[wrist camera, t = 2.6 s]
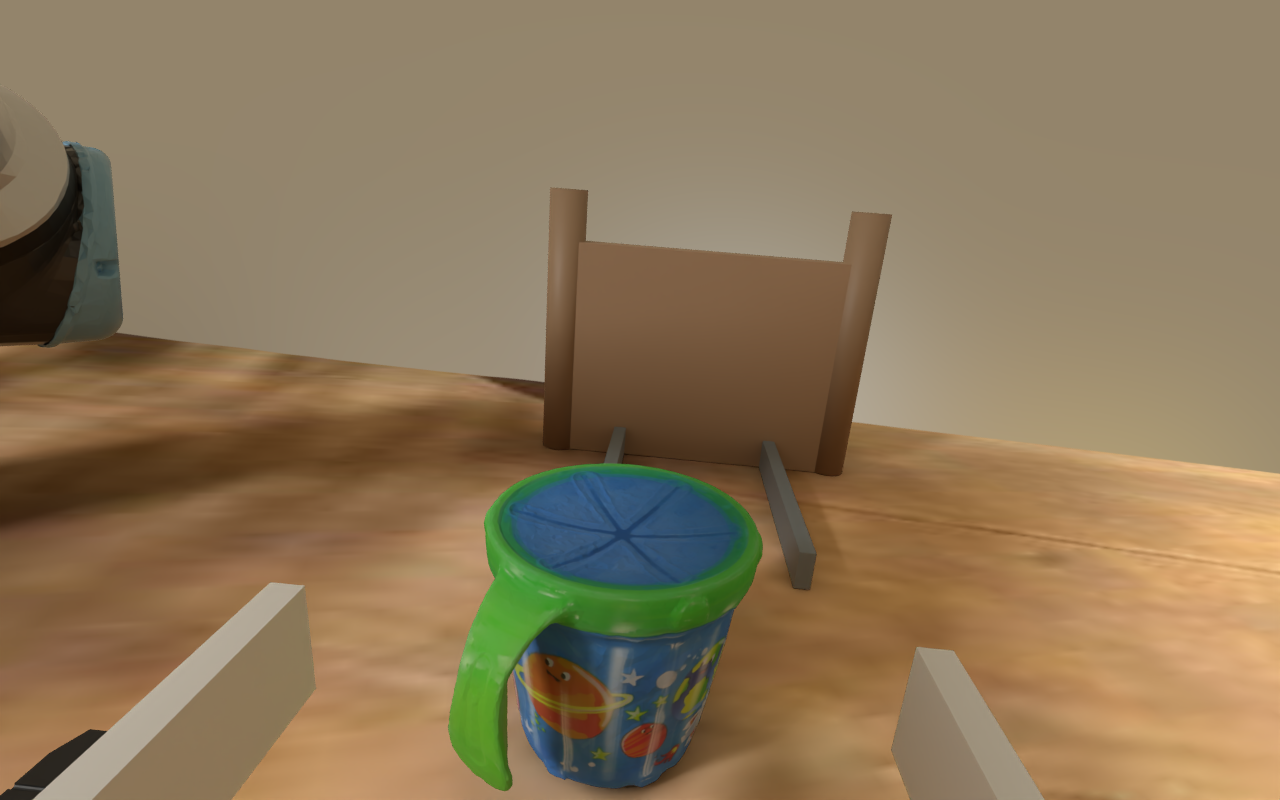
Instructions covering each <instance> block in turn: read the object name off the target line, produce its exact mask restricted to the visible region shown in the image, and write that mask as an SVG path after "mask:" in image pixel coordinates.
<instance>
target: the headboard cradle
mask: <svg viewBox="0 0 1280 800" xmlns="http://www.w3.org/2000/svg"><path fill="white" fill-rule="evenodd" d="M587 201H588V190H576V189H562V188H550V216H549V217H550V218H549V219H550V220H549V251H548V252H549V253H548V286H547V321H546V357H545V390H544V425H543V445H544V446H546V447H548V448H550V449H556V450H565V449H579V450H590V451H600V452H607V454H606V457H605V461H604V463H614V464H622V461H623V456H624V454H631V455H642V456H652V457H663V458H673V459H683V460H694V461H704V462H715V463H725V464H735V465H746V466H756V467H759V469H760V473H761V476H762V480H763V483H764V487H765V490H766V494H767V497H768V501H769V504H770V508H771V511H772V515H773V518H774V522H775V525H776V529H777V532H778V536H779V539H780V543H781V546H782V550H783V553H784V557H785V560H786V564H787V567H788V571H789V574H790V578H791V581H792V585H793V588H799V589H808V590H810V586H811V581H812V576H813V570H814V565H815V560H816V555H817V554H816V551H815V548H814V546H813V543H812V540H811V538H810V535H809V532H808V530H807V527H806V525H805V522H804V519H803V517H802V514H801V511H800V509H799V506H798V503H797V501H796V498H795V495H794V493H793V490H792V487H791V485H790V482H789V479H788V477H787V474H786V472H785V469H788V470H798V471H808V472H815V473H818V474H821V475H827V476H837V475H840V474H841V473H842V469H843V464H844V459H845V454H846V449H847V444H848V438H849V433H850V428H851V423H852V418H853V413H854V408H855V402H856V397H857V392H858V387H859V382H860V377H861V372H862V367H863V361H864V356H865V351H866V346H867V341H868V336H869V330H870V326H871V320H872V315H873V310H874V304H875V300H876V294H877V289H878V284H879V279H880V274H881V269H882V264H883V259H884V254H885V249H886V243H887V238H888V232H889V228H890V223H891V218H892V215H890V214H877V213H863V212H852V214H851V220H850V226H849V231H848V237H847V243H846V249H845V254H844V260H843V262H833V261H821V260H810V259H798V258H786V257H773V256H760V255H750V254H737V253H726V252H713V251H701V250H689V249H677V248H664V247H653V246H640V245H629V244H617V243H605V242H593V241H592V242H591V241H586V222H587Z"/></svg>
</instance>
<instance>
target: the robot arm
mask: <svg viewBox="0 0 1280 800" xmlns="http://www.w3.org/2000/svg"><path fill="white" fill-rule="evenodd" d="M113 197H114V196H113V184H112V172H111V163H110V160H109V158H108V157H107V156H106V155H105V154H104V153H103V152H102V151H100V150H98V149H96V148H91V147H85V146H82V145H80V144H79V143H77V142H76V143H74V142H68V141H65V142H62V141H61V139H60V137H59V135H58V133H57V132H56V130H55V129H54V128H53V126H52V125H51V124H50V122H49V121H48V120H47V118H46V117H45V116H44V115H43V114H41V113H40V112H39V111H38V110H37V109H36V108H35V107H34V106H33V105H31V104H30V103H29V102H28V101H26V100H25V99H24V98H22V97H21V96H19V95H18V94H16V93H15V92H13V91H12V90H10V89H8V88H7V87H5V86H3V85H1V84H0V346H15V345H38V346H40V347H55V346H57V345H59V344H60V343H71V342H82V341H94V340H101V339H105V338H107V337H110V336H111V335H113V334H114V333H116V332H117V330H118V329H119V328H120V326H121V324H122V321H123V311H122V299H121V285H120V272H119V260H118V247H117V234H116V222H115V210H114V198H113ZM315 689H316V684H315V675H314V666H313V657H312V648H311V638H310V629H309V620H308V611H307V602H306V593H305V586H302V585H292V584H282V583H272V582H270V583H269V584H268V585H267V586H266V587H265V588H264V589H263V590H262V591H260V592H259V593H258V594H257V595H256V596H255V597H254V598H253V599H252V600H251V601H250V602H248V603H247V604H246V605H245V606H244V607H243V608H242V609H241V610H240V611H239V612H237V613H236V614H235V615H234V616H233V617H232V618H231V619H230V620H229V621H228V622H227V623H225V624H224V625H223V626H222V627H221V628H220V629H219V630H218V631H217V632H216V633H214V634H213V635H212V636H211V637H210V638H209V639H208V640H207V641H206V642H205V643H204V644H202V645H201V646H200V647H199V648H198V649H197V650H196V651H195V652H194V653H193V654H191V655H190V656H189V657H188V658H187V659H186V660H185V661H184V662H183V663H182V664H181V665H179V666H178V667H177V668H176V669H175V670H174V671H173V672H172V673H171V674H170V675H169V676H167V677H166V678H165V679H164V680H163V681H162V682H161V683H160V684H159V685H158V686H156V687H155V688H154V689H153V690H152V691H151V692H150V693H149V694H148V695H147V696H146V697H144V698H143V699H142V700H141V701H140V702H139V703H138V704H137V705H136V706H135V707H133V708H132V709H131V710H130V711H129V712H128V713H127V714H126V715H125V716H124V717H123V718H121V719H120V720H119V721H118V722H117V723H116V724H115V725H114V726H113V727H112V728H110V729H109V730H108V731H101V730H92V729H90V730H88V731H86V732H85V733H83V734H81V735H80V736H78V737H76V738H74V739H73V740H71V741H69V742H68V743H66V744H64V745H63V746H61V747H59V748H57V749H56V750H54V751H52V752H51V753H49V754H48V755H47V756H46V757H44V758H43V759H42V760H41V761H40V762H39V763H37V764H36V765H35V766H34V767H33V768H32V769H30V770H29V771H28V772H27V773H26V774H25V775H24V776H22V777H21V778H20V779H19V780H18V781H17V782H15V785H14V787H13V788H12V789H11V790H10V789H7V790H6V791H5V792H4V793H3V794H2V795H0V800H232V798H233V797H234V796H235V794H236V793H237V792H238V790H239V789H240V788H241V787H242V785H243V784H244V783H245V781H246V780H247V779H248V777H249V776H250V775H251V773H252V772H253V771H254V769H255V768H256V767H257V765H258V764H259V763H260V762H261V760H262V759H263V758H264V756H265V755H266V754H267V752H268V751H269V750H270V748H271V747H272V746H273V744H274V743H275V742H276V740H277V739H278V738H279V737H280V735H281V734H282V733H283V731H284V730H285V729H286V727H287V726H288V725H289V723H290V722H291V721H292V719H293V718H294V717H295V715H296V714H297V713H298V711H299V710H300V709H301V708H302V706H303V705H304V704H305V702H306V701H307V700H308V698H309V697H310V696H311V694H312V693H313V692H314V690H315ZM891 751H892V753H893V756H894V758H895V761H896V764H897V766H898V769H899V772H900V774H901V777H902V779H903V782H904V785H905V787H906V790H907V792H908V795H909V798H910V800H1045V799H1044V798H1043V796H1042V794H1041V793H1040V791H1039V790H1038V788H1037V786H1036V785H1035V783H1034V781H1033V780H1032V778H1031V776H1030V775H1029V773H1028V771H1027V770H1026V768H1025V767H1024V765H1023V763H1022V762H1021V760H1020V758H1019V757H1018V755H1017V753H1016V752H1015V750H1014V749H1013V747H1012V745H1011V744H1010V742H1009V740H1008V739H1007V737H1006V735H1005V734H1004V732H1003V731H1002V729H1001V727H1000V726H999V724H998V722H997V721H996V719H995V717H994V716H993V714H992V713H991V711H990V709H989V708H988V706H987V704H986V703H985V701H984V699H983V698H982V696H981V695H980V693H979V691H978V690H977V688H976V686H975V685H974V683H973V681H972V680H971V678H970V676H969V675H968V673H967V672H966V670H965V668H964V667H963V665H962V663H961V662H960V660H959V658H958V657H957V655H956V654H955V652H954V651H953V650H943V649H933V648H923V647H916V650H915V655H914V659H913V663H912V667H911V671H910V675H909V679H908V683H907V687H906V691H905V695H904V700H903V704H902V708H901V712H900V716H899V720H898V724H897V728H896V732H895V736H894V741H893V745H892V749H891Z"/></svg>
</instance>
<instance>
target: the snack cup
mask: <svg viewBox="0 0 1280 800" xmlns="http://www.w3.org/2000/svg"><path fill="white" fill-rule="evenodd" d="M484 527H485V532H486V549H487V557H488V563H489V566H490V569H491V571H492V573H493V576H494V577H495V580H494V581H493V583H492V585H491V586H490V588H489V590H488V592H487V593H486V595H485V598H484V600H483V602H482V604H481V605H480V608H479V610H478V613H477V615H476V617H475V619H474V621H473V624H472V626H471V629H470V632H469V634H468V637H467V641H466V644H465V648H464V651H463V655H462V658H461V662H460V666H459V670H458V675H457V681H456V685H455V689H454V696H453V699H452V705H451V709H450V717H449V725H448V730H449V735H450V740H451V743H452V746H453V748H454V750H455V751H456V753H457V754H458V756H459V757H460V758H461V760H462V761H463V762H464V763H465V764H466V765H467V766H468V767H469V769H470V770H471V771H472V772H473V773H474V774H475V775H476V776H479V777H481V778H482V779H483V780H484V781H485V782H486V783H488V784H489V785H491V786H492V787H494V788H496V789H499V790H502V791H507V790H509V789H510V788H511V786H512V775H511V772H510V769H509V767H508V758H507V747H508V744H507V681H508V678H509V676H510V674H511V673H513V679H514V685H515V691H516V698H517V704H518V709H519V711H520V714H521V722H522V726H523V729H524V731H525V734H526V736H527V739H528V741H529V743H530V745H531V747H532V748H533V750H534V751H535V753H536V754H537V756H538V757H539V758H540V759H541V760H542V761H543V762H544V764H545V766H546V767H547V770H548V771H549V773H550V774H552V775H554V776H556V777H560V778H562V779H564V780H565V779H567V778H569V779H572V780H574V781H577V782H580V783H584V784H588V785H591V786H596V787H605V788H621V787H624V786H628V785H635V786H638V787H644V786H646V785H648V784H650V783H652V782H654V781H656V780H657V779H658V778H659V777H660V775H661V774H662V773H663V772H664V771H666V770H667V769H668V768H670V767H673V766H674V765H676V763H677V762H678V761H679V760H680V759H681V757H682V756H683V754H684V753H685V751H686V749H687V747H688V745H689V743H690V741H691V738H692V736H693V733H694V731H695V729H696V727H697V724H698V722H699V720H700V717H701V714H702V711H703V708H704V705H705V703H706V700H707V697H708V693H709V690H710V686H711V683H712V681H713V678H714V675H715V672H716V670H717V667H718V663H719V660H720V657H721V654H722V651H723V648H724V645H725V641H726V638H727V633H728V629H729V626H730V622H731V618H732V615H733V612H734V609H735V608H736V607H737V605H738V604H739V603H740V601H741V600H742V599H743V597H744V596H745V594H746V593H747V591H748V589H749V588H750V586H751V584H752V582H753V579H754V575H755V572H756V568H757V565H758V563H759V561H760V559H761V557H762V550H763V544H762V538H761V536H760V534H759V532H758V530H757V527H756V525H755V523H754V521H753V520H752V518H751V516H750V515H749V513H748V512H747V511H746V510H745V509H744V508H743V507H742V506H741V505H740V504H739V503H738V502H737V501H735V500H734V499H733V498H732V497H730V496H729V495H727V494H726V493H724V492H722V491H721V490H719V489H717V488H716V487H714V486H712V485H710V484H707V483H705V482H702V481H700V480H698V479H695V478H692V477H689V476H686V475H683V474H680V473H676V472H672V471H668V470H664V469H659V468H653V467H647V466H640V465H632V464H614V463H602V464H584V465H575V466H567V467H562V468H557V469H552V470H549V471H545V472H542V473H539V474H536V475H533V476H531V477H528V478H526V479H524V480H522V481H519V482H518V483H516V484H514V485H513V486H511V487H510V488H508V489H507V490H506V491H505V492H503V493H502V494H501V495H500V496H499V498H498V499H497V500H496V501H495V502H494V504H493V505H492V506H491V508H490V509H489V510H488V511H487V513H486V517H485V521H484Z"/></svg>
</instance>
